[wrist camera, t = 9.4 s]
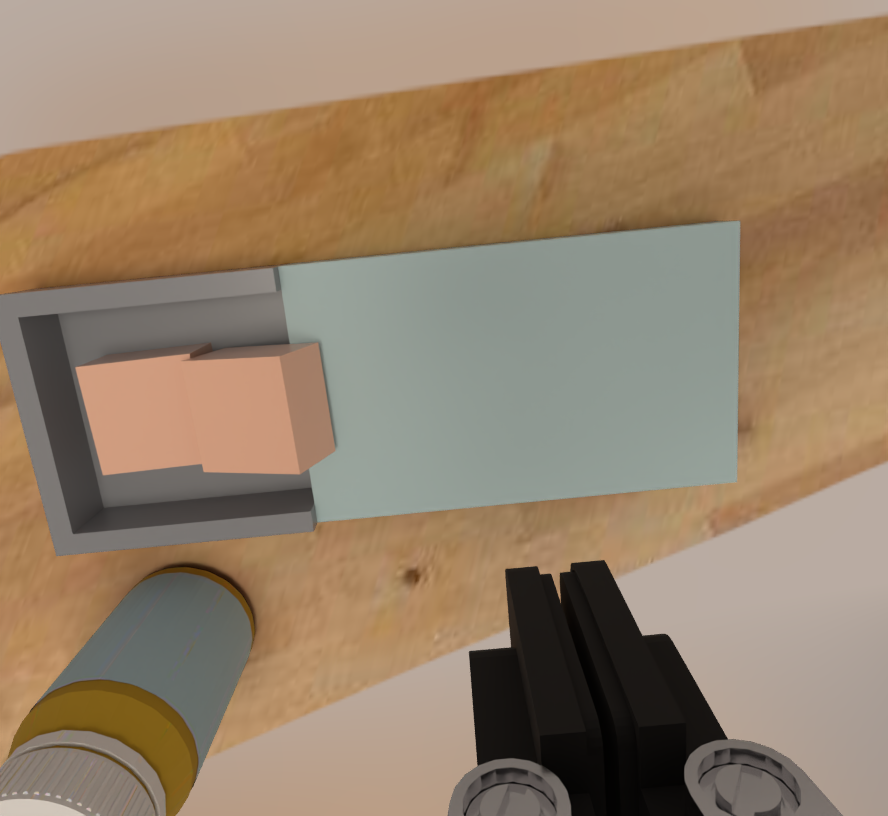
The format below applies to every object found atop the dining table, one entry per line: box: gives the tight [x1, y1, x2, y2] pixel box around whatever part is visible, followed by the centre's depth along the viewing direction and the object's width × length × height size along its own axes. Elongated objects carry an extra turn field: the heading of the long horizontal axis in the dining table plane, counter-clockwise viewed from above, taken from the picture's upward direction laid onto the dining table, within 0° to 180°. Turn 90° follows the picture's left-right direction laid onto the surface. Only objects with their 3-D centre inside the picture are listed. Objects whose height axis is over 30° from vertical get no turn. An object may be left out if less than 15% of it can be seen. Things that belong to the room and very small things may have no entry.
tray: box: [0, 264, 317, 556], centre depth 32 cm, size 12×12×4 cm
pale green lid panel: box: [278, 221, 740, 522], centre depth 32 cm, size 20×12×2 cm, turn 96°
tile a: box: [180, 342, 336, 474], centre depth 30 cm, size 5×5×3 cm
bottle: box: [0, 567, 255, 816], centre depth 30 cm, size 7×7×15 cm
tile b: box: [75, 343, 213, 475], centre depth 32 cm, size 5×5×3 cm
